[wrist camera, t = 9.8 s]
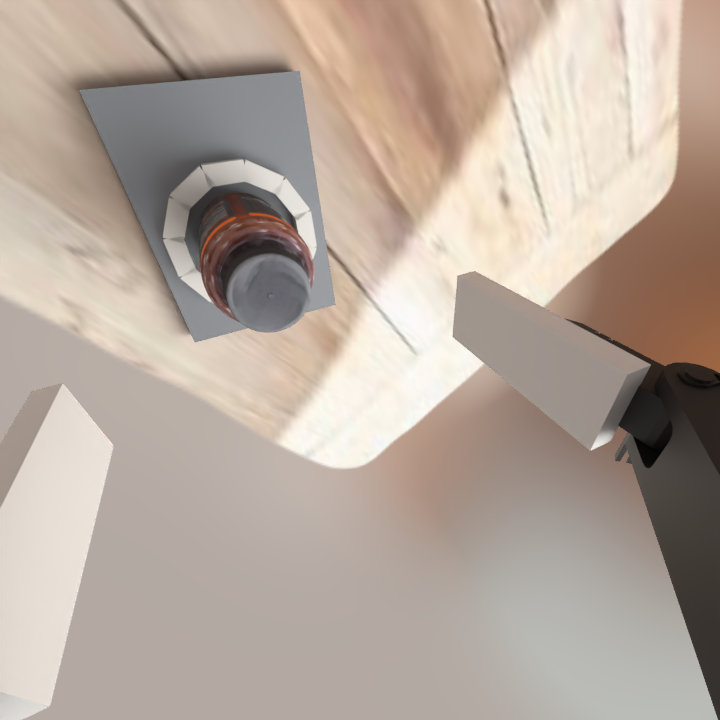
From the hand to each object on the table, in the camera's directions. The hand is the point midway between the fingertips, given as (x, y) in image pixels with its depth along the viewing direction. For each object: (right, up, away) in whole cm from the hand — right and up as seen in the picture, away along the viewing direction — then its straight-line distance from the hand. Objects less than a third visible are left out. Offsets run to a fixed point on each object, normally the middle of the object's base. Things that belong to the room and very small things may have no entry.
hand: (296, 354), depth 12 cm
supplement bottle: (-6, +9, +13) cm, 17 cm away
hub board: (-7, +10, +13) cm, 18 cm away
